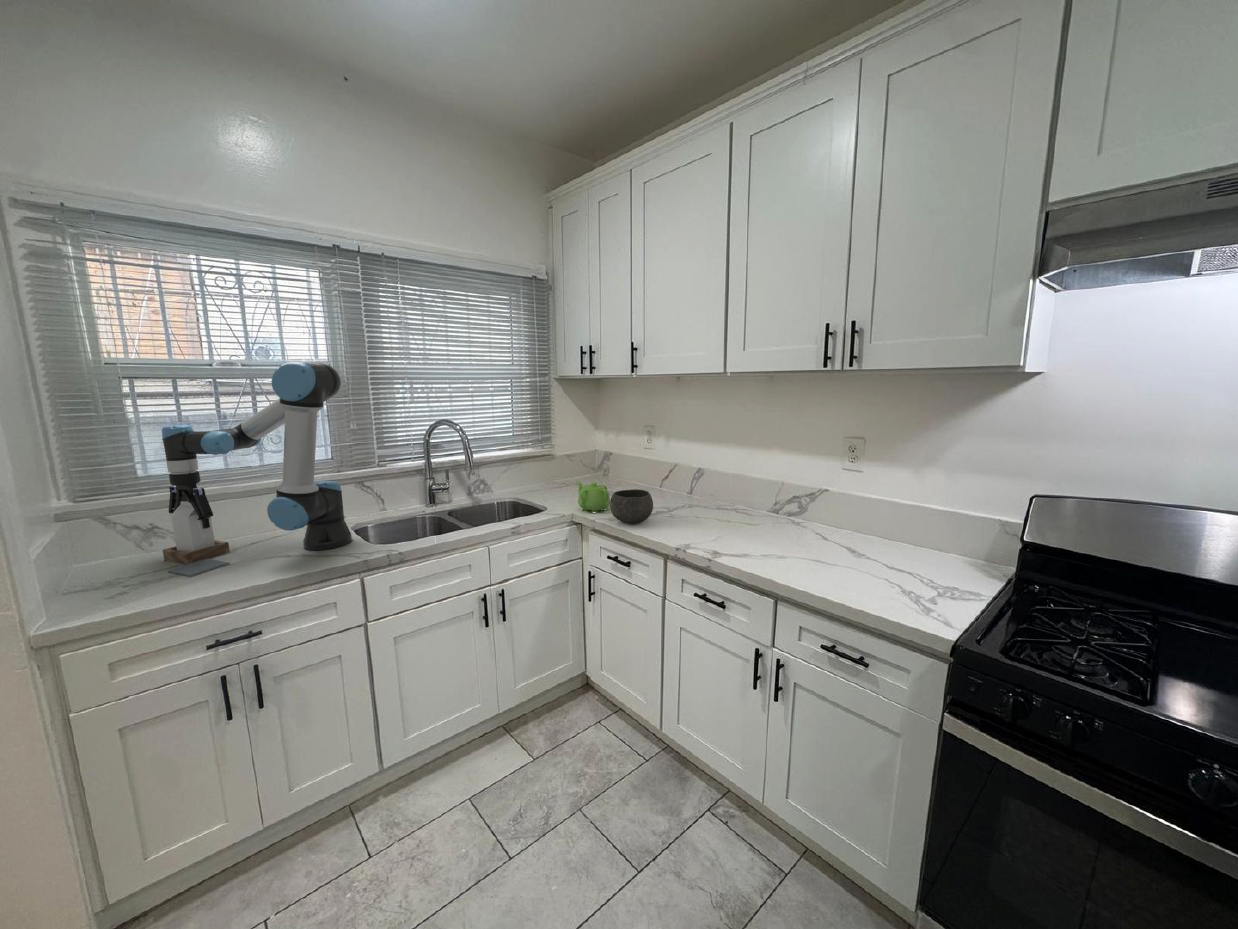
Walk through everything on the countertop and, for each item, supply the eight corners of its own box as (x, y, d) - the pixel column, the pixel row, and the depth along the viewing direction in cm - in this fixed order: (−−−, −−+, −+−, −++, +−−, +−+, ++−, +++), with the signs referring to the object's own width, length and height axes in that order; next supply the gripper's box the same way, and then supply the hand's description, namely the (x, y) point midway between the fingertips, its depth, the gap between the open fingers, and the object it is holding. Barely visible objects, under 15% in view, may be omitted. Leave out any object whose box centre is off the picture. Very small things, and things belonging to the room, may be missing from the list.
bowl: (628, 531, 189) (628, 500, 187) (601, 521, 203) (600, 491, 201) (662, 523, 200) (662, 493, 198) (633, 513, 214) (633, 485, 212)
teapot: (572, 514, 214) (572, 486, 212) (576, 505, 228) (576, 479, 225) (609, 514, 213) (609, 486, 211) (611, 505, 227) (610, 479, 225)
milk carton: (195, 560, 161) (186, 504, 158) (178, 559, 162) (168, 503, 159) (216, 553, 168) (208, 499, 164) (200, 551, 169) (191, 498, 166)
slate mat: (229, 564, 157) (229, 562, 157) (190, 577, 147) (190, 575, 147) (207, 560, 161) (207, 558, 161) (167, 572, 151) (167, 570, 151)
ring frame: (229, 551, 169) (228, 542, 168) (188, 564, 157) (186, 554, 157) (206, 547, 173) (204, 538, 172) (164, 560, 161) (162, 550, 161)
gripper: (220, 472, 159) (230, 535, 163) (174, 467, 167) (184, 528, 171) (194, 476, 153) (205, 542, 156) (147, 471, 160) (158, 535, 164)
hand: (194, 535), depth 164 cm, fingers open, 11 cm apart
